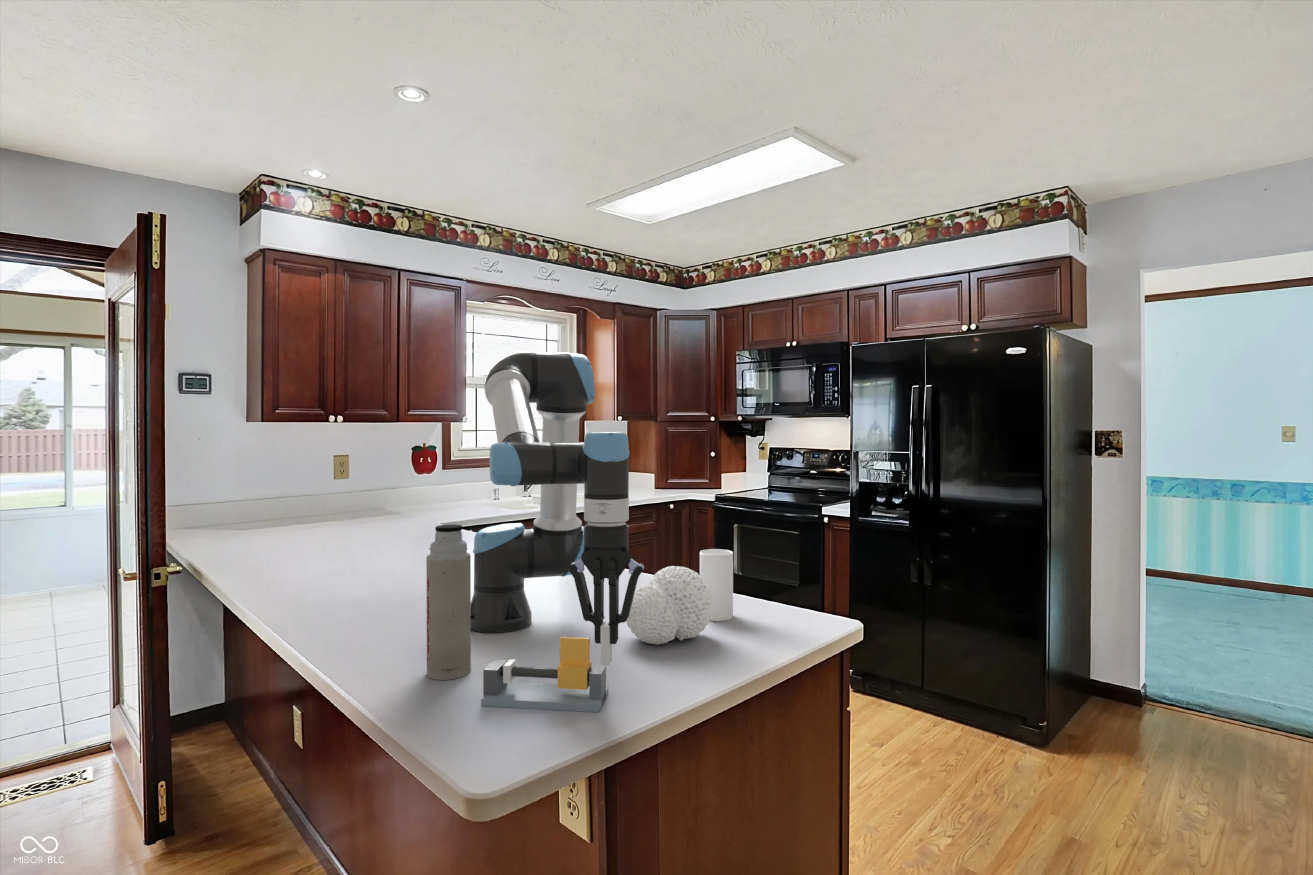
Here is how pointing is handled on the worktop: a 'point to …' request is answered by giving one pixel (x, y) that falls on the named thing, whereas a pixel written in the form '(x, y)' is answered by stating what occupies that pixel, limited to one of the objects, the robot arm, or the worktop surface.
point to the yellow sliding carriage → (574, 663)
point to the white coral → (671, 606)
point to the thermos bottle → (448, 605)
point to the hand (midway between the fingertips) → (606, 662)
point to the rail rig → (540, 689)
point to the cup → (719, 581)
